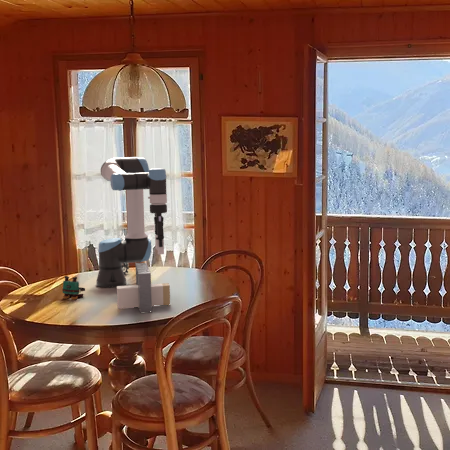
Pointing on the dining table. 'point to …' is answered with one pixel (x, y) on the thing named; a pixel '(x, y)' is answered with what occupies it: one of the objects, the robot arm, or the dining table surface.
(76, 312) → the dining table surface
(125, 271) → the valve
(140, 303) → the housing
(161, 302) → the grey rectangular block
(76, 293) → the binoculars
